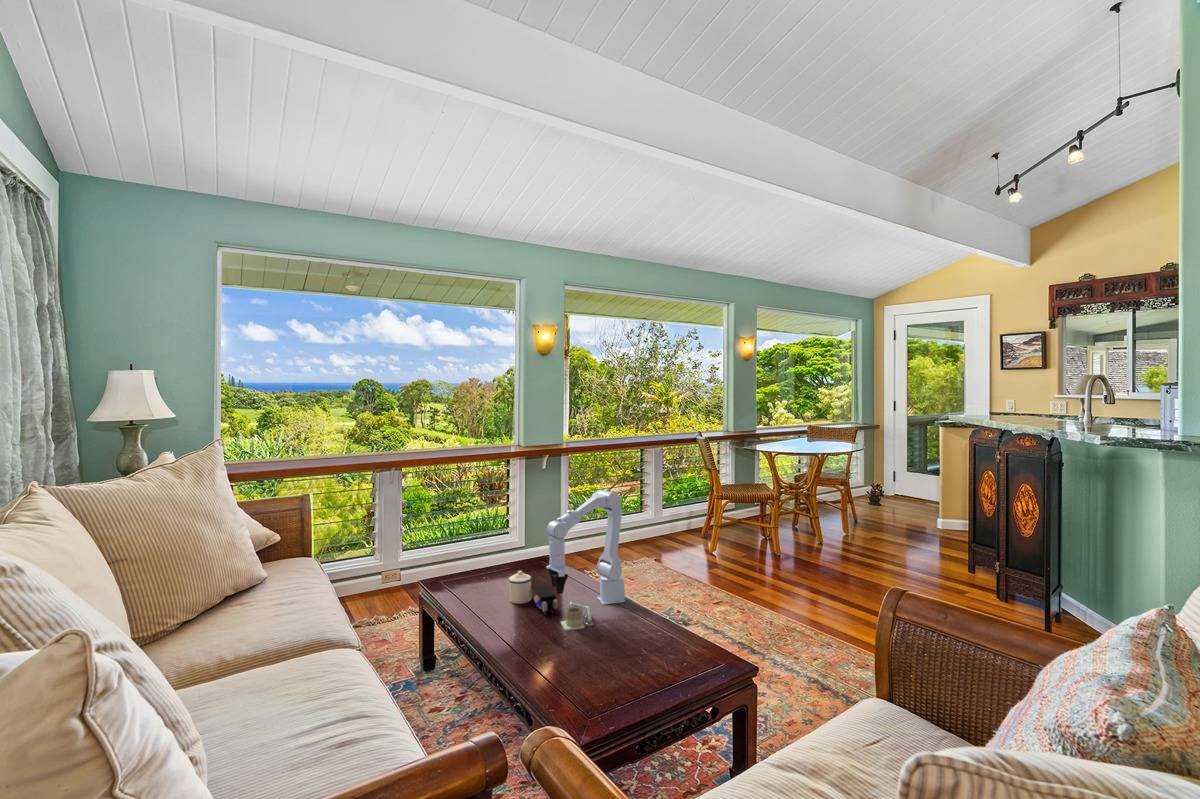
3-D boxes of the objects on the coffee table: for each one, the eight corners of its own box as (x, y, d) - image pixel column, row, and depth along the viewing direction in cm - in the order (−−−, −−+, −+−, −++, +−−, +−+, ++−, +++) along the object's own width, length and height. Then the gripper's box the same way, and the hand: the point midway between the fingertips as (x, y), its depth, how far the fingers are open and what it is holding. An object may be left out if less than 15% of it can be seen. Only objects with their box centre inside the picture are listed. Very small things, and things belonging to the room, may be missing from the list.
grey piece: (587, 609, 212) (586, 599, 212) (598, 624, 198) (598, 614, 198) (566, 611, 210) (566, 601, 210) (576, 628, 195) (576, 617, 195)
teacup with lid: (534, 601, 220) (534, 572, 220) (512, 605, 217) (512, 576, 216) (525, 592, 231) (525, 564, 231) (504, 595, 227) (504, 567, 227)
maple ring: (579, 619, 201) (579, 606, 201) (583, 625, 196) (583, 611, 196) (564, 621, 199) (564, 608, 199) (568, 627, 194) (568, 613, 194)
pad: (579, 620, 202) (579, 618, 202) (584, 628, 195) (584, 626, 195) (560, 623, 200) (560, 621, 200) (565, 630, 193) (565, 629, 193)
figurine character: (559, 618, 208) (546, 600, 221) (560, 599, 207) (546, 582, 220) (543, 621, 205) (530, 603, 218) (543, 602, 204) (530, 585, 218)
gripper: (542, 549, 211) (543, 584, 212) (550, 560, 198) (551, 597, 198) (560, 547, 214) (561, 582, 214) (569, 558, 200) (570, 595, 200)
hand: (557, 589), depth 206 cm, fingers open, 7 cm apart
